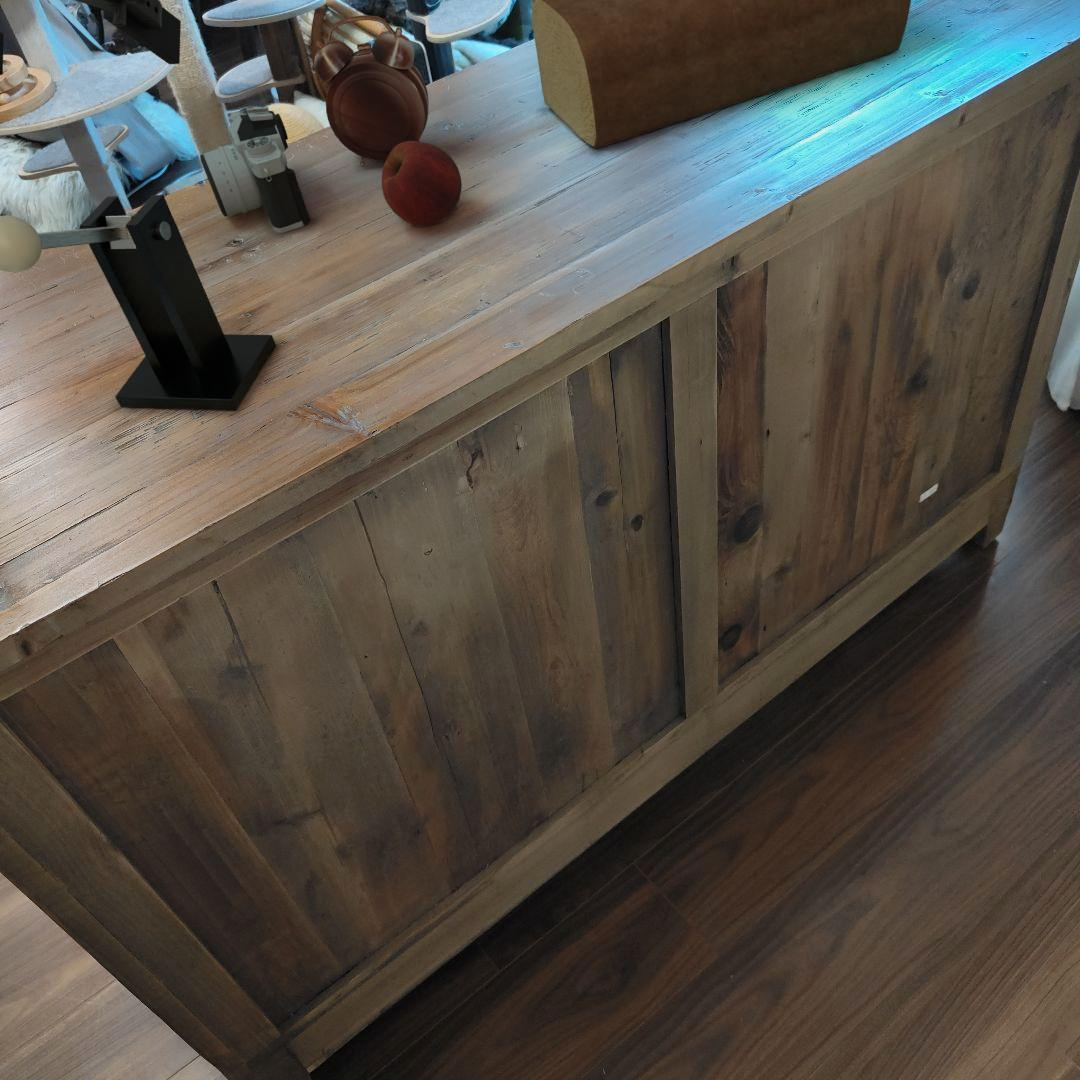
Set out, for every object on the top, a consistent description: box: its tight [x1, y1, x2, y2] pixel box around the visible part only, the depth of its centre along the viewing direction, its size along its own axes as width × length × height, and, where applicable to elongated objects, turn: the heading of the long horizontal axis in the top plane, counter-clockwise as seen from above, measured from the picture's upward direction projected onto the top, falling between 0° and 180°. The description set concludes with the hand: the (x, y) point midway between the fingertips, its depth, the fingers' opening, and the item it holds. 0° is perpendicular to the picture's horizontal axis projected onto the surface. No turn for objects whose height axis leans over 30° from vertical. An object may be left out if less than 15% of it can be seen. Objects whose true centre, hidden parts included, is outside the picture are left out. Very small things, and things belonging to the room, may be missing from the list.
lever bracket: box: [79, 194, 277, 412], centre depth 82 cm, size 9×11×16 cm
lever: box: [0, 213, 137, 274], centre depth 72 cm, size 16×4×4 cm, turn 168°
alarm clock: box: [313, 14, 430, 167], centre depth 106 cm, size 11×5×15 cm, turn 88°
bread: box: [531, 0, 912, 149], centre depth 109 cm, size 16×39×13 cm, turn 112°
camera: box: [199, 106, 311, 234], centre depth 104 cm, size 16×9×10 cm, turn 23°
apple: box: [381, 140, 463, 227], centre depth 98 cm, size 7×8×8 cm
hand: (85, 49), depth 67 cm, fingers open, 13 cm apart
